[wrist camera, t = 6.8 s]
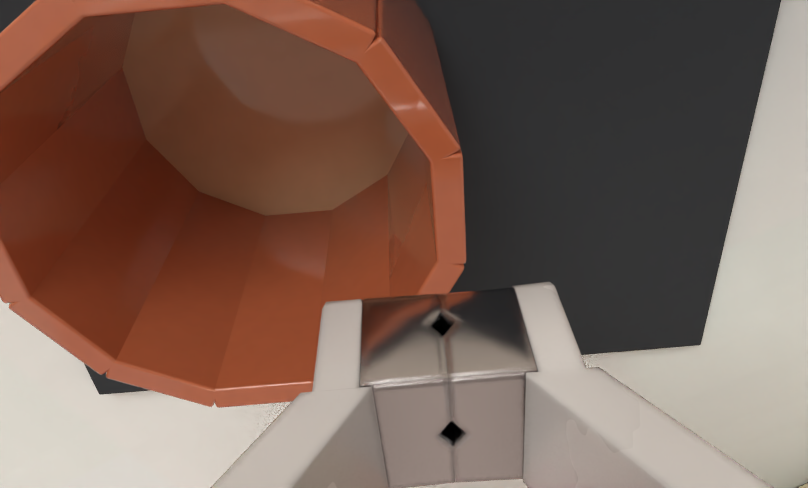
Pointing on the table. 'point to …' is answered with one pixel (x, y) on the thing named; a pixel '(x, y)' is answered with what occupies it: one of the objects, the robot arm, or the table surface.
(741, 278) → the table surface
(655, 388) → the table surface
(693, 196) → the mat
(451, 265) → the cup
